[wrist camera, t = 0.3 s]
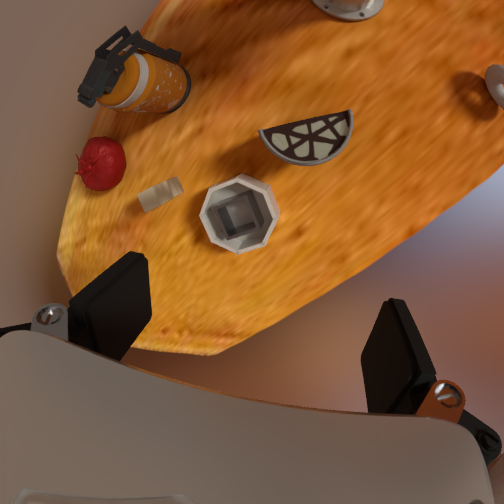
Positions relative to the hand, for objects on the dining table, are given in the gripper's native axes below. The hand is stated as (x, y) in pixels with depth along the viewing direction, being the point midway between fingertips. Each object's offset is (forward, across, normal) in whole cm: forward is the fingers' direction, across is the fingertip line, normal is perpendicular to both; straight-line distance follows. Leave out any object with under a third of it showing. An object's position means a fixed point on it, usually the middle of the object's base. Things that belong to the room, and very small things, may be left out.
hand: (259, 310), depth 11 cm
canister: (+36, +22, -14) cm, 44 cm away
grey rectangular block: (+36, +20, +5) cm, 42 cm away
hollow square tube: (+36, +7, +7) cm, 38 cm away
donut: (+36, -34, -24) cm, 55 cm away
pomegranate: (+36, +33, +1) cm, 49 cm away
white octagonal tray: (+36, +7, +7) cm, 38 cm away
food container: (+36, -2, -6) cm, 37 cm away
